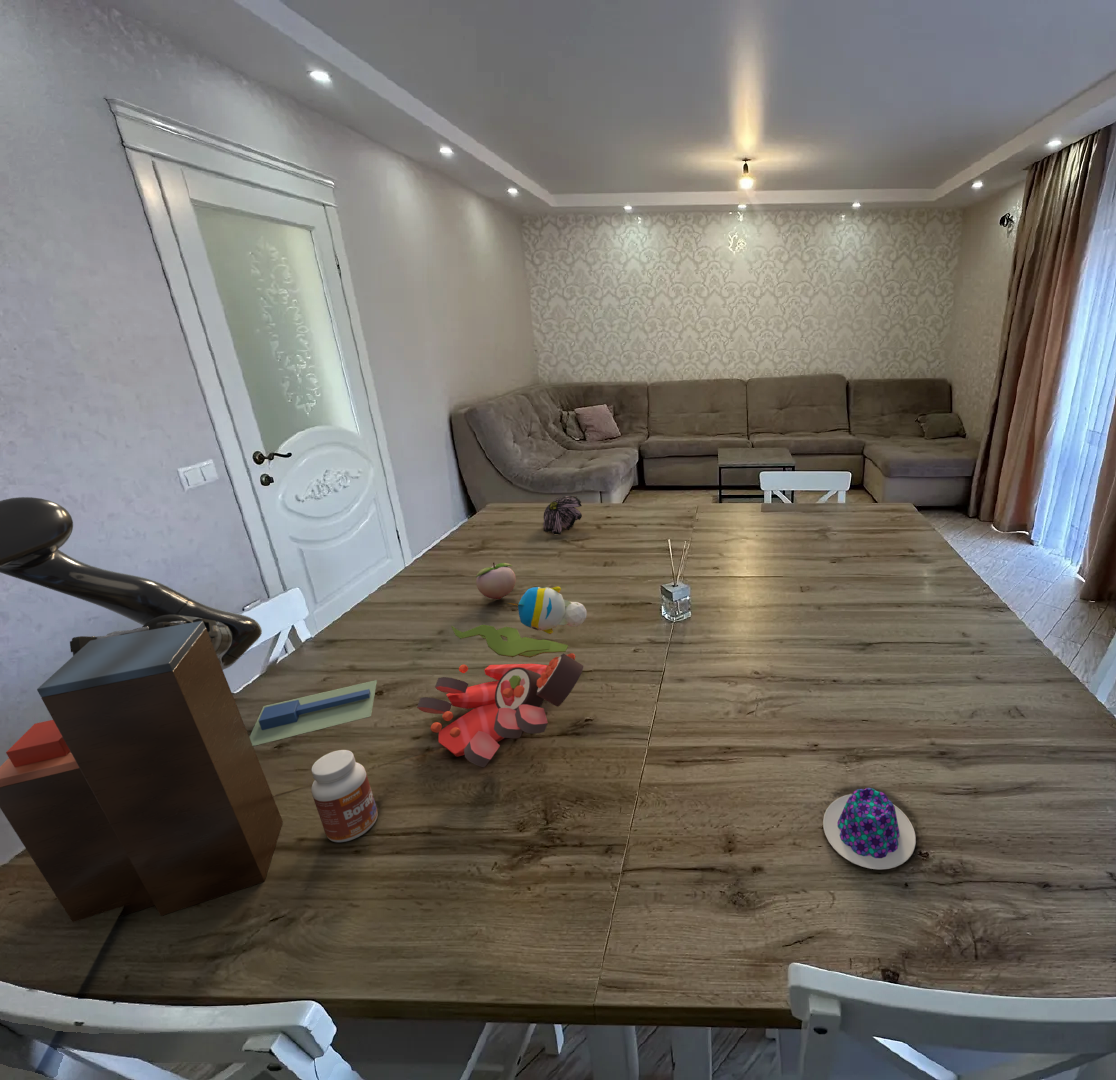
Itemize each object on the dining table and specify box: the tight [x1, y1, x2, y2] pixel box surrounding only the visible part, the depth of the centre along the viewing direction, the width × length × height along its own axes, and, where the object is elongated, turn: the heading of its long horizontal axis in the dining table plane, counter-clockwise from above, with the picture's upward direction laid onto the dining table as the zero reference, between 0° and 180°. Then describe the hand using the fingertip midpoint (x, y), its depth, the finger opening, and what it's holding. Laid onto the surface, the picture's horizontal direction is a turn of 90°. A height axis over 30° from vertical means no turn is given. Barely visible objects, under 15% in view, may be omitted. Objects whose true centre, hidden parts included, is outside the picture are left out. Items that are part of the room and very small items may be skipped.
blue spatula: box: [259, 689, 371, 730], centre depth 100 cm, size 4×16×2 cm, turn 115°
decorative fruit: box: [475, 562, 517, 600], centre depth 139 cm, size 9×8×10 cm
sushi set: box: [416, 586, 588, 768], centre depth 97 cm, size 29×30×24 cm
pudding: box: [822, 787, 917, 870], centre depth 74 cm, size 12×12×5 cm
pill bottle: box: [310, 749, 379, 843], centre depth 76 cm, size 6×6×11 cm
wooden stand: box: [0, 621, 284, 923], centre depth 65 cm, size 18×10×32 cm, turn 115°
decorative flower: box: [542, 495, 583, 535], centre depth 187 cm, size 14×12×15 cm
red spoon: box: [5, 719, 70, 767], centre depth 66 cm, size 4×16×2 cm, turn 25°
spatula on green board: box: [249, 679, 378, 747], centre depth 100 cm, size 18×12×1 cm, turn 115°
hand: (119, 637), depth 75 cm, fingers open, 8 cm apart
